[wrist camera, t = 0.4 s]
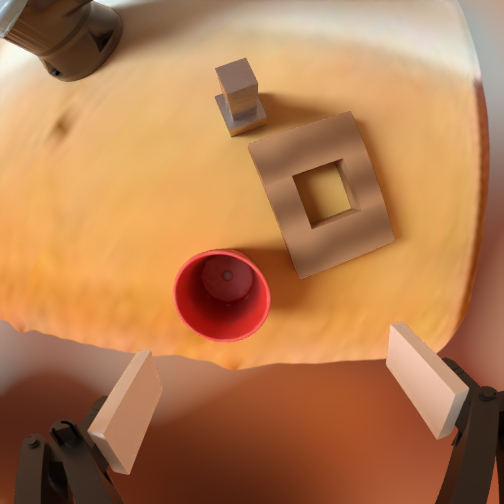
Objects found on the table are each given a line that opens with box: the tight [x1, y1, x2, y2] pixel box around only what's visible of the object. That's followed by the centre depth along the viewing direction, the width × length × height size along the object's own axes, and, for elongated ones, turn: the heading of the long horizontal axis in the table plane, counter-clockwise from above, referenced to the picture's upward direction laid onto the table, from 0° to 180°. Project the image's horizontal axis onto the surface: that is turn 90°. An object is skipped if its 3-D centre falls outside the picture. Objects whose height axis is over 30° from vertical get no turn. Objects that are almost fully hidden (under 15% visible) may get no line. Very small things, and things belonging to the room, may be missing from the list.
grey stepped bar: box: [215, 58, 267, 137], centre depth 29 cm, size 5×5×14 cm
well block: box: [248, 111, 395, 280], centre depth 36 cm, size 18×14×4 cm
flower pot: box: [173, 249, 271, 342], centre depth 36 cm, size 11×11×10 cm
